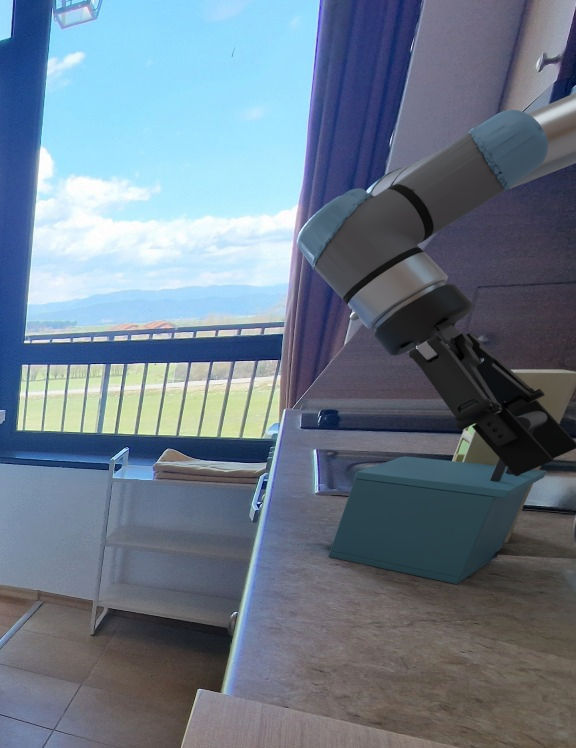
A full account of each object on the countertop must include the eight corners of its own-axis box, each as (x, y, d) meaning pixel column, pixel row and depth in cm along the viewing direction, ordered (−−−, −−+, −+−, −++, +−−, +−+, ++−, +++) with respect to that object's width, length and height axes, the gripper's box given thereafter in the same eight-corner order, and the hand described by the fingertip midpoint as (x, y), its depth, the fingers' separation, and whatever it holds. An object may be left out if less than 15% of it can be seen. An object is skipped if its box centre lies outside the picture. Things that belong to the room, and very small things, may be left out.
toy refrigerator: (417, 526, 88) (479, 368, 80) (493, 534, 84) (566, 368, 76) (423, 540, 83) (490, 372, 74) (504, 550, 78) (585, 372, 70)
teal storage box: (497, 556, 76) (533, 477, 72) (456, 584, 69) (494, 497, 65) (375, 534, 85) (401, 462, 82) (327, 556, 78) (354, 478, 74)
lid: (543, 477, 72) (575, 409, 69) (506, 498, 64) (539, 422, 61) (401, 462, 81) (423, 401, 79) (354, 478, 74) (377, 412, 71)
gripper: (406, 330, 81) (529, 468, 75) (332, 335, 70) (469, 497, 64) (481, 282, 75) (622, 427, 69) (412, 278, 64) (574, 451, 57)
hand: (549, 461), depth 66 cm, fingers open, 11 cm apart
